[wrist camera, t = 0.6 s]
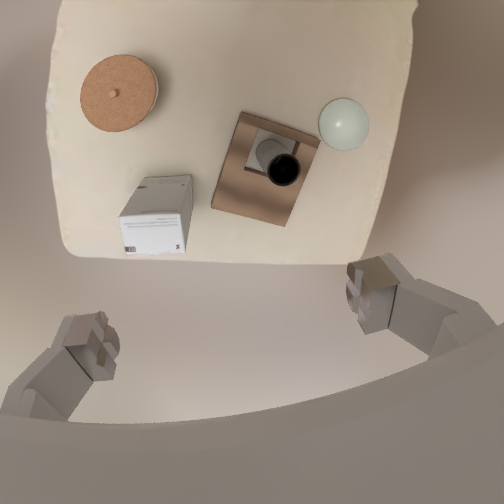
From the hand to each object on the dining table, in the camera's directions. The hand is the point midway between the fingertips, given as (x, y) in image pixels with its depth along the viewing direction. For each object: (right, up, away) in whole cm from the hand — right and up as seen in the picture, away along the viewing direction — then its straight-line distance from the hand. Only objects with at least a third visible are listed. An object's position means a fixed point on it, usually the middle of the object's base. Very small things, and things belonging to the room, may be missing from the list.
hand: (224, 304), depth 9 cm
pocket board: (+3, +15, +38) cm, 41 cm away
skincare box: (-13, +11, +38) cm, 42 cm away
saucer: (+16, +23, +36) cm, 45 cm away
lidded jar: (-18, +26, +29) cm, 43 cm away
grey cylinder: (+4, +18, +37) cm, 41 cm away
